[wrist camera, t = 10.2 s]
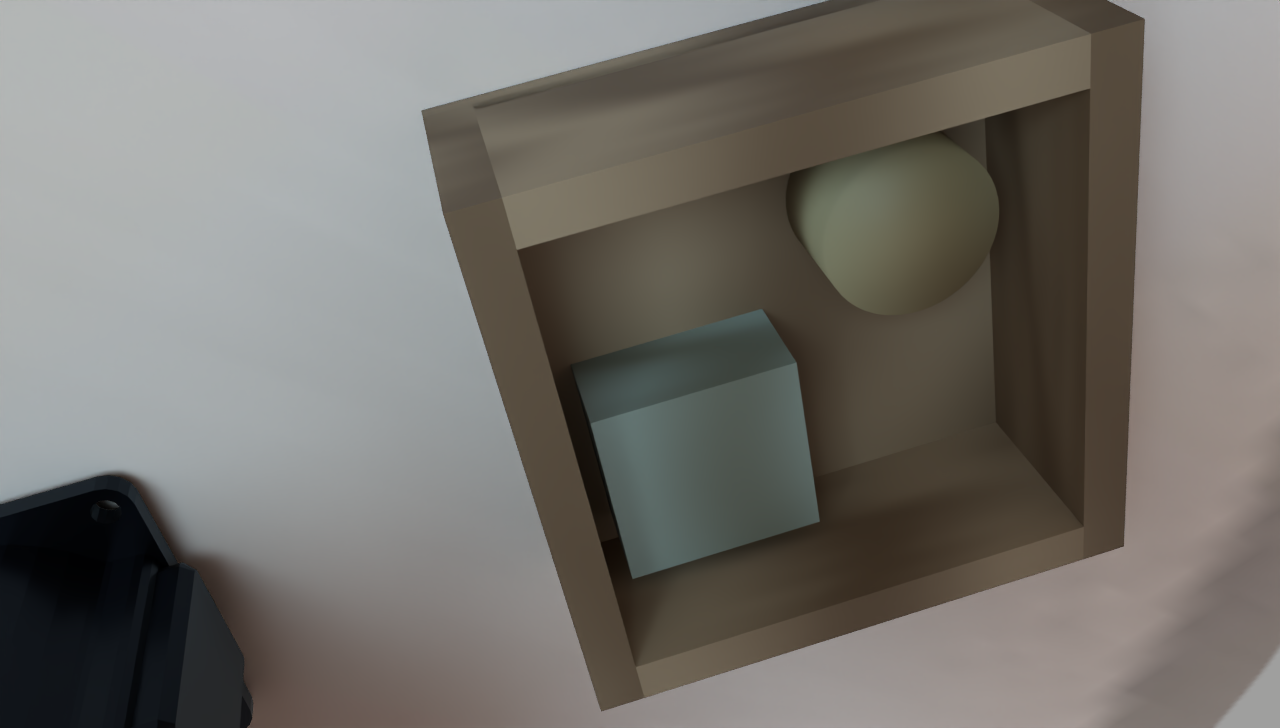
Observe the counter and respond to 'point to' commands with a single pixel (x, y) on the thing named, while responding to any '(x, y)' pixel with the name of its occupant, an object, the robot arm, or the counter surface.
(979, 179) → the box
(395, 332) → the counter surface
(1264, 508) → the counter surface
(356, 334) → the counter surface
